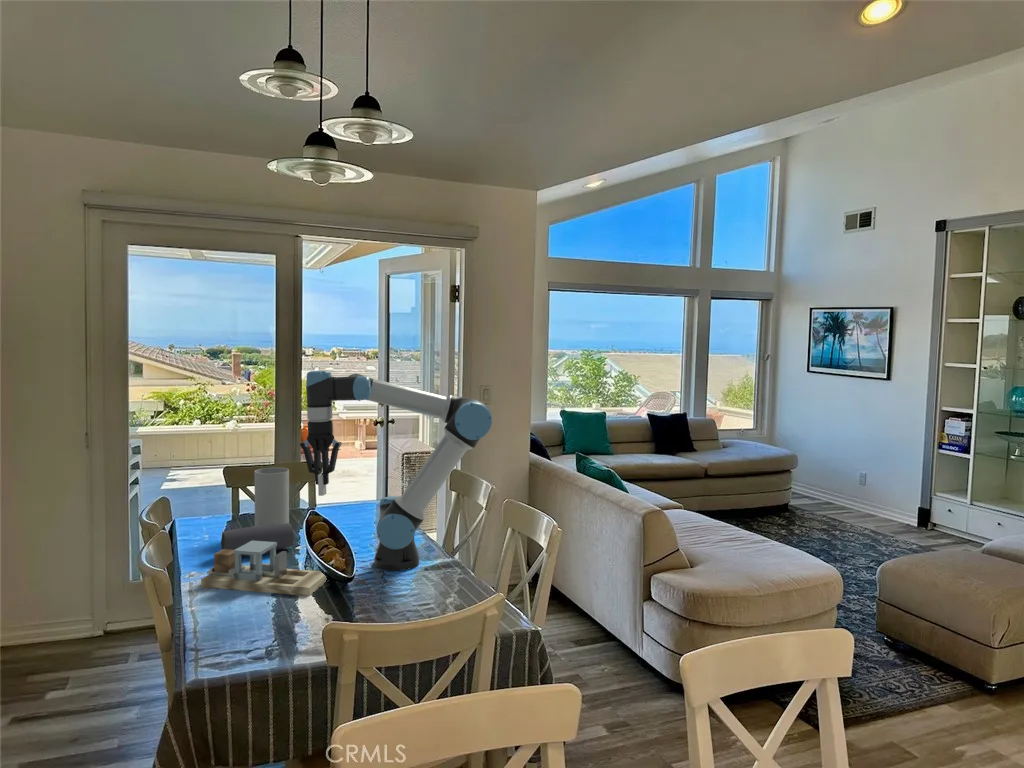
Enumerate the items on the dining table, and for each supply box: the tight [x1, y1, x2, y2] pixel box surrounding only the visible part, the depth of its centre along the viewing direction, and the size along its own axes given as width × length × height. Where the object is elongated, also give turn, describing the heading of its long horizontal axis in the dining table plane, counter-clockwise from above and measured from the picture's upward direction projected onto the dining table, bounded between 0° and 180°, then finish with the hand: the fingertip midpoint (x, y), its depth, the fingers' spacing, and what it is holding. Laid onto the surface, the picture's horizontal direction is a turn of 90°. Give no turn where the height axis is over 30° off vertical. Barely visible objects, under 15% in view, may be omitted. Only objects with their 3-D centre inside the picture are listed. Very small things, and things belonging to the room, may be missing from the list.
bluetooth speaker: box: [220, 522, 295, 558], centre depth 237 cm, size 23×9×10 cm, turn 123°
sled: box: [206, 550, 288, 579], centre depth 210 cm, size 24×6×7 cm, turn 81°
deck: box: [200, 564, 327, 597], centre depth 209 cm, size 35×14×3 cm, turn 81°
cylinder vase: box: [254, 467, 290, 526], centre depth 260 cm, size 12×12×25 cm
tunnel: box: [234, 541, 277, 581], centre depth 209 cm, size 9×10×9 cm
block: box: [213, 548, 235, 572], centre depth 211 cm, size 5×5×6 cm
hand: (322, 494), depth 212 cm, fingers closed
